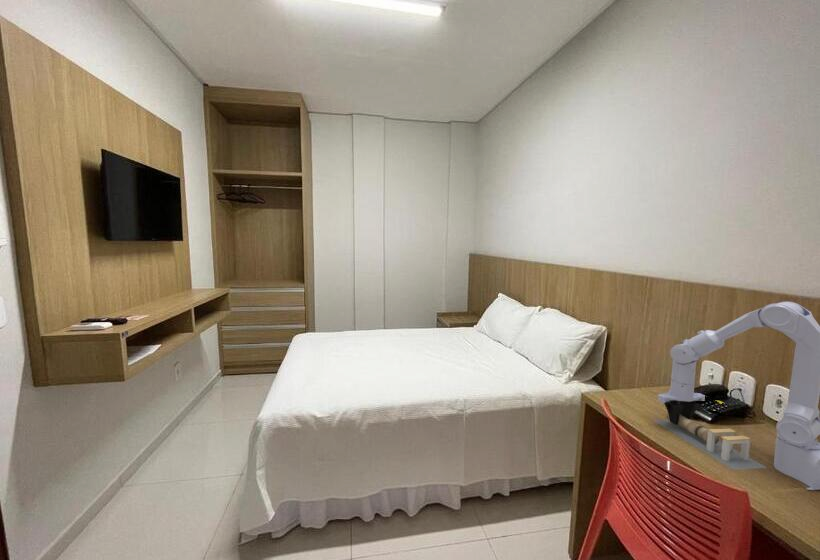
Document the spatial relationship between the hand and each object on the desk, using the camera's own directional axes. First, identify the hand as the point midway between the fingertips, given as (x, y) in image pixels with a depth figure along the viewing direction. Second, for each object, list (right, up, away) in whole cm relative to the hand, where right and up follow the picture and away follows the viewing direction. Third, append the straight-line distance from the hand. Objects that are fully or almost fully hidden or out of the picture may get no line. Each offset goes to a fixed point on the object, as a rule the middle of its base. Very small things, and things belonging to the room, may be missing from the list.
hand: (679, 422), depth 105 cm
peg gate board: (+1, -3, -8) cm, 8 cm away
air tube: (0, -1, -4) cm, 4 cm away
